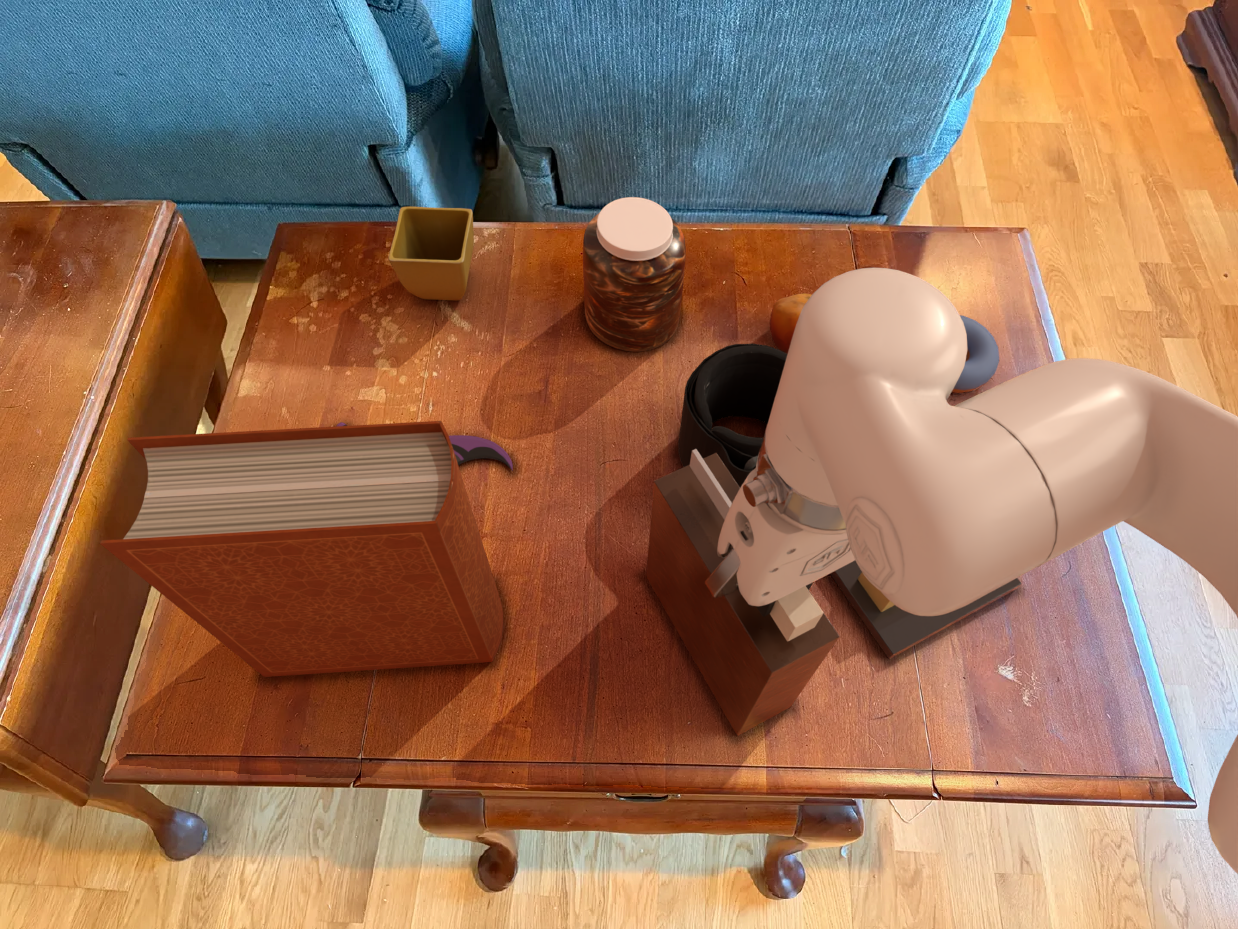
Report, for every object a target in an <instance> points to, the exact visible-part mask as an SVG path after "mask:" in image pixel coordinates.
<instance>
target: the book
mask: <svg viewBox="0 0 1238 929" xmlns="http://www.w3.org/2000/svg"><path fill="white" fill-rule="evenodd" d="M449 436H450V435H449V433H448V431H447V429H446V428H445V424H443V422H442V421H441V420H430V421H429V420H428V421H411V422H410V421H409V422H393V423H371V424H359V425H358V424H355V425H347V426H337V425H336V426H335V425H334V426H319V427H318V426H317V427H299V428H284V429H283V428H282V429H281V428H279V429H264V430H244V431H228V432H227V431H226V432H209V433H207V432H206V433H188V434H172V435H171V434H169V435H168V434H167V435H151V436H134V437H127V441H128V443H129V444H130V445H131V446H132V447H133V448H134V449H135V450H136V451H137V452H138V453H139V454H140V456H141V457H142V458H143V459H144V460H145V461H146V467H147V484H146V489H145V493H144V497H143V501H142V505H141V508H140V510H139V512H138V514H137V517H136V519H135V521H134V522H133V524H132V525H131V527H130V529H129V530H128V532H127V533H126V534H125V535H124V537H123V538H120V539H104V540H103V539H102V540H99V544H100V545H101V546H102V547H103V548H105V549H106V550H107V551H108V552H109V553H111V554H112V555H113V556H114V557H115V558H116V559H118V560H119V561H120V562H121V563H123V564H124V565H125V566H127V567H128V568H129V569H130V570H131V571H133V572H134V574H136V575H137V576H138V577H140V578H142V580H144V582H146V583H148V584H149V585H150V586H151V587H152V588H154V589H155V590H156V591H157V592H158V593H160V594H161V595H162V596H163V597H164V598H166V599H167V600H168V601H170V602H171V603H172V604H173V605H174V606H176V607H177V608H178V609H179V610H181V611H182V612H183V613H184V614H185V615H187V616H188V617H189V618H191V619H192V620H193V621H194V622H196V623H197V624H198V625H199V626H200V627H202V628H203V629H204V630H205V631H206V632H208V633H209V634H210V635H212V637H214V638H215V639H216V640H218V641H219V642H220V643H222V644H223V645H224V646H225V647H227V648H228V649H229V650H230V651H231V652H233V653H234V654H235V655H236V656H237V657H239V658H240V659H241V660H243V661H244V662H245V663H246V664H247V665H248V666H250V668H252V669H253V670H254V671H256V672H257V673H259V674H260V675H261V676H262V677H264V678H269V677H285V676H300V675H314V674H315V675H316V674H330V673H346V672H360V671H376V670H389V669H407V668H421V667H436V666H437V667H438V666H450V665H451V666H452V665H466V664H480V663H481V664H482V663H492V662H494V659H495V657H496V655H497V653H498V650H499V648H500V646H501V641H502V638H503V631H504V611H503V604H502V601H501V598H500V594H499V591H498V588H497V584H496V582H495V581H496V580H495V578H494V575H493V572H492V569H491V565H490V561H489V559H488V555H487V553H486V549H485V547H484V543H483V539H482V537H481V536H482V535H481V533H480V529H479V527H478V524H477V521H476V516H475V514H474V511H473V508H472V505H471V501H470V499H469V496H468V491H467V488H466V485H465V483H464V479H463V476H462V473H461V469H460V467H459V466H460V465H458V463H457V460H456V456H455V453H454V450H453V447H452V444H451V441H450V438H449Z"/></svg>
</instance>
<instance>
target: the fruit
mask: <svg viewBox="0 0 1238 929" xmlns="http://www.w3.org/2000/svg"><path fill="white" fill-rule="evenodd" d="M812 294H813V293H805V292H804V293H797V294H793V295H790V296H786V297H782V298H780V299H777V300H776V301H775V302H774V304H773V306H772V310H771V313H770V317H769V318H770V319H769V330H770V335H771V339H772V343H773V345H774V348H776V349H779V350H781V351H782V352H784V353H786V354H788V351H789V348H790V344H791V341H792V337H793V334H794V330H795V327H796V324H797V321H798V318H799V316H800V313H801V311H802V309H803V307H804V305H805V304H806V302H807V301H808V300H809V298H810V297H811V295H812Z"/></svg>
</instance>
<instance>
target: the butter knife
mask: <svg viewBox="0 0 1238 929" xmlns="http://www.w3.org/2000/svg"><path fill="white" fill-rule="evenodd" d="M690 467H691V469H692V470H693V472H694V473H695V475H696V477H697V478H698V480H699V481H700V483H701V484H702V486H703V487H704V489H705V491H706V492H707V494H708V495H709V497H710V498H711V500H712V501H713V503H714V504H715V506H716V508H717V509H718V511H719V512H720V514H721V515H722V517H723V518H724V520H725V518H726V516H727V513H728V511H729V509H730V507H731V505H732V503H731V501H730V500H729V498H728V497H727V495H726V493H725V492H724V490H723V489H722V487H721V486H720V484H719V483H718V481H717V480H716V478H715V477H714V475H713V474H712V472H711V471H710V469H709V468H708V466H707V465H706V463H705V461H704V460H703V458H702V457H701V455H700V454H699V452H698V451H697V449H695V450H692V454H691V460H690ZM809 591H810V589H809V590H808V589H807V587H806V586H804V587H802V588H800V589H798V590H796V591H794V592H792V593H790V594H788V595H786V596H784V597H782V598H780V599H778V600H776V602H775V604H774V606H773V608H772V610H771V613H770V615H771V617H772V618H773V620H774V621H775V623H776V624H777V626H778V628H779V629H780V631H781V632H782V634H783V636H784V637H785V639H786V640H787V641H790V640H792V639H793V638H795V637H797V636H799V635H801V634H803V633H805V632H807V631H809V630H811V629H812V628H814V627H815V626H816V624H817V623H818V621H819V620H820V618H821V616H822V615H823V612H824V610H823V609H822V607H821V606H820V605H819V603H818V601H817V600H816V598H815V597H814V595H813V594H812V593H811V591H810V592H809ZM811 594H812V595H811ZM813 597H814V598H813ZM815 600H816V601H815ZM817 603H818V604H817ZM819 606H820V607H819ZM821 609H822V610H823V611H822V610H821Z"/></svg>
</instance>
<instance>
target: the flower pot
mask: <svg viewBox="0 0 1238 929" xmlns="http://www.w3.org/2000/svg"><path fill="white" fill-rule="evenodd" d="M474 234H475V232H474V213H473V210H472V209H471V208H463V207H429V206H426V207H425V206H401V207H400V209H399V211H398V216H397V222H396V227H395V232H394V236H393V239H392V241H391V246H390V250H389V253H388V262H389V263H390V265H391V267H392V268H393V271H394V272H395V275H396V277H397V278H398V280H399V282H400V284H401V285H402V287H403V288H404V289H405V290H406V291H407V292H408V293H410V294H411V295H413V296H415V297H417V298H419V299H422V300H433V301H435V300H436V301H437V300H438V301H461V300H462V299H463V298H464V296H465V294H466V291H467V286H468V281H469V274H470V268H471V263H472V258H473V254H474V253H473V252H474V246H475V245H474V244H475V235H474Z"/></svg>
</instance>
